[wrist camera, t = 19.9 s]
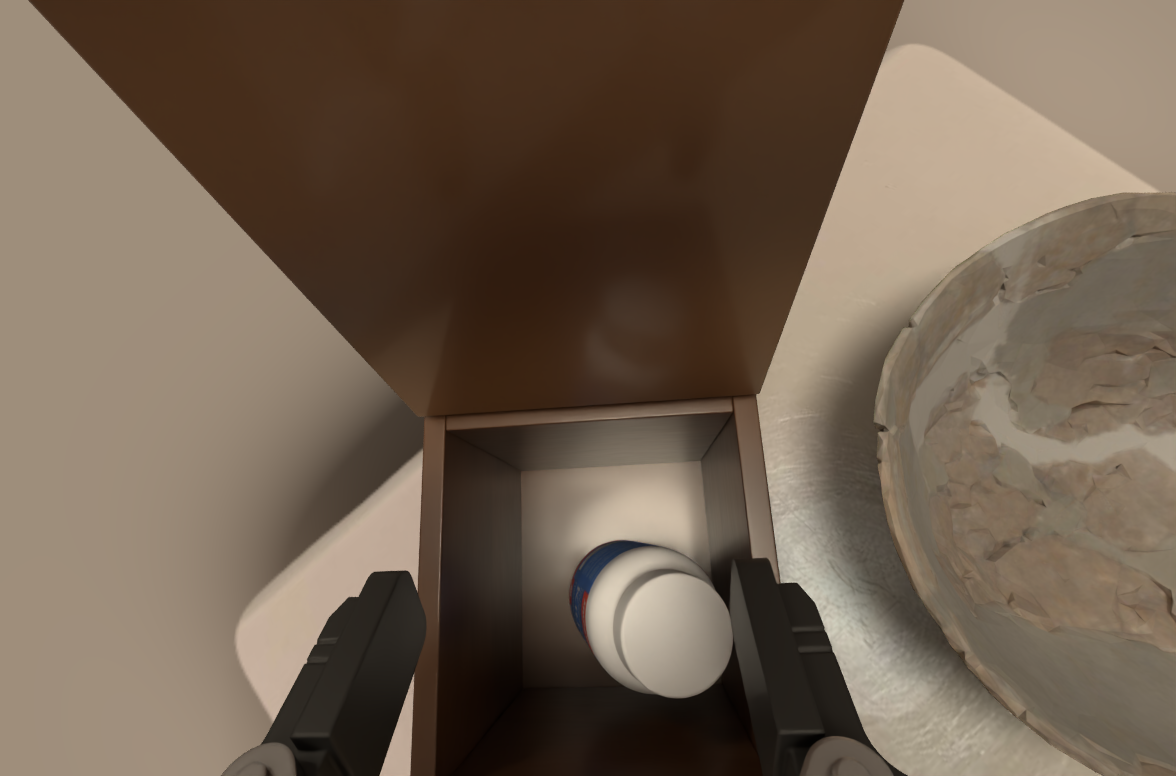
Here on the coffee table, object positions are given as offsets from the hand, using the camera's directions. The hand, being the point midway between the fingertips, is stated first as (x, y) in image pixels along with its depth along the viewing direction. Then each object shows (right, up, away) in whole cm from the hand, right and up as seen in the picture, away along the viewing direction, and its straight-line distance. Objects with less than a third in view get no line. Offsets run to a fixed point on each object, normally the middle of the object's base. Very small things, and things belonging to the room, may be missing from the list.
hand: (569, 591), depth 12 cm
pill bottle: (+2, -6, +16) cm, 17 cm away
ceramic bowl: (+24, -1, +16) cm, 29 cm away
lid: (0, +7, 0) cm, 7 cm away
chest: (+2, -5, +17) cm, 18 cm away
